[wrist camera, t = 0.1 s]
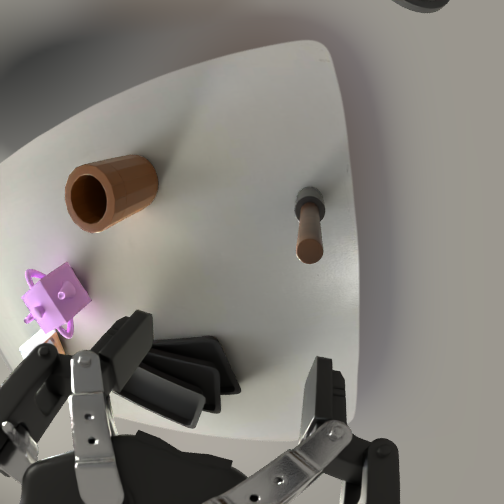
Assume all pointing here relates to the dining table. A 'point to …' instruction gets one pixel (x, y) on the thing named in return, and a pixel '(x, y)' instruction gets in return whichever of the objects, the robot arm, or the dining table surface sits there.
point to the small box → (39, 339)
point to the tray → (182, 379)
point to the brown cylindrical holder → (109, 191)
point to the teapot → (55, 299)
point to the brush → (309, 225)
